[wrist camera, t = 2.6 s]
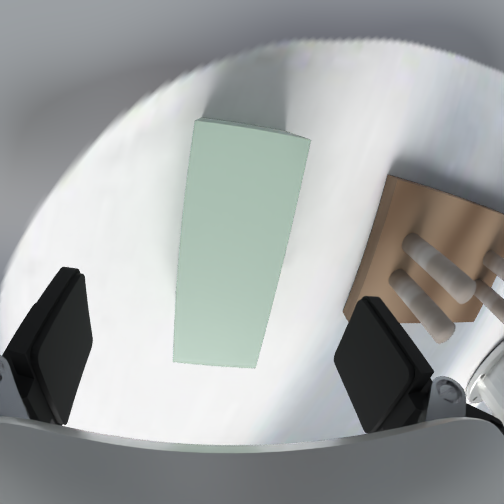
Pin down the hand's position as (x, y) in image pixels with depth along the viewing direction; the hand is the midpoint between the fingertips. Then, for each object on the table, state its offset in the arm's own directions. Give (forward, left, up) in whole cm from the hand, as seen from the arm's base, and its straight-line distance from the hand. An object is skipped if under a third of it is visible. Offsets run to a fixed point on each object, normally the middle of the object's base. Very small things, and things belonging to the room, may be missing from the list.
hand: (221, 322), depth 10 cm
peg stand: (-17, 0, -9) cm, 19 cm away
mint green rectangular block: (-1, 0, -9) cm, 9 cm away
